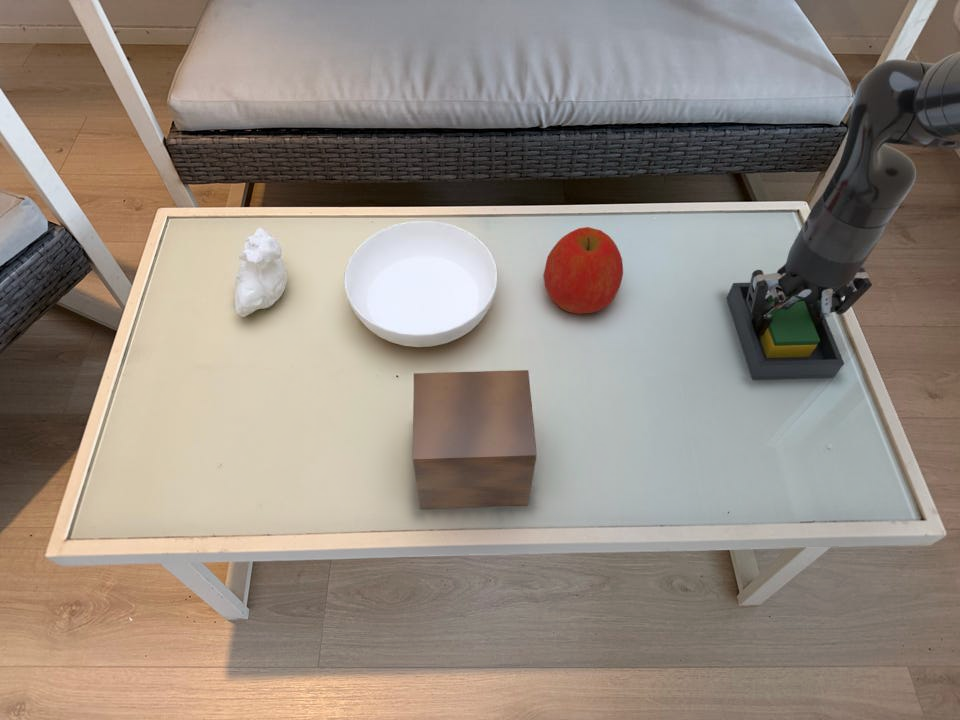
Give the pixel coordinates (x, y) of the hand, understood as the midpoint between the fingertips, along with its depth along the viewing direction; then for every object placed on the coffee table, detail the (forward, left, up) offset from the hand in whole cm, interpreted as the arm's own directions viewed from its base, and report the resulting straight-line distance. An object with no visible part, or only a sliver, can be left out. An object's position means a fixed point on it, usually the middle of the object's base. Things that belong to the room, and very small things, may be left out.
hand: (781, 329), depth 90 cm
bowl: (+37, +28, -2) cm, 47 cm away
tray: (0, 0, -1) cm, 1 cm away
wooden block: (+16, +41, -1) cm, 44 cm away
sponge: (0, 0, -1) cm, 1 cm away
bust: (+54, +41, -2) cm, 68 cm away
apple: (+23, +12, -2) cm, 26 cm away
